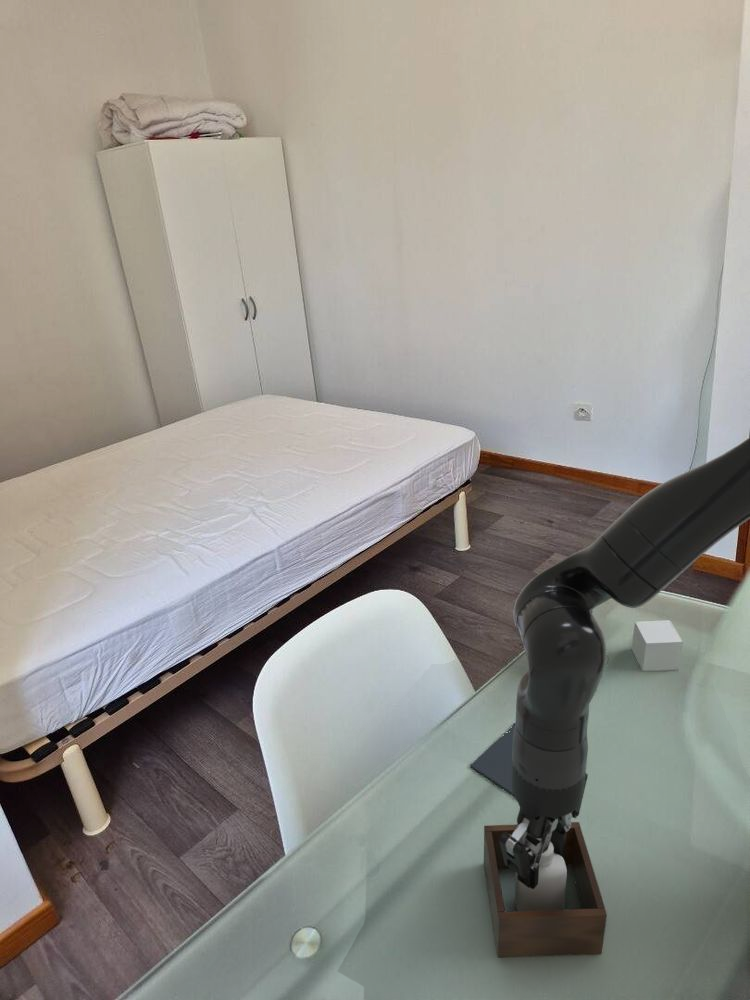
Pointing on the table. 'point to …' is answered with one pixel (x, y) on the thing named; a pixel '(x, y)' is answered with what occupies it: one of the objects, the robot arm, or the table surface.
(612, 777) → the table surface
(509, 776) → the mat
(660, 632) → the grey cube
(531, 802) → the robot arm
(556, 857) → the eye dropper bottle
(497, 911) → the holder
